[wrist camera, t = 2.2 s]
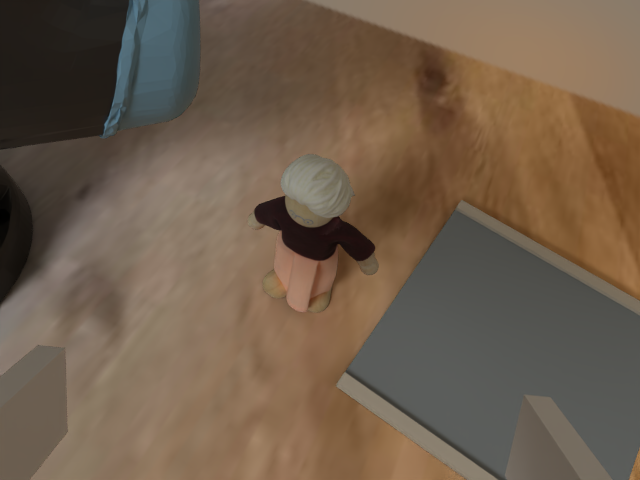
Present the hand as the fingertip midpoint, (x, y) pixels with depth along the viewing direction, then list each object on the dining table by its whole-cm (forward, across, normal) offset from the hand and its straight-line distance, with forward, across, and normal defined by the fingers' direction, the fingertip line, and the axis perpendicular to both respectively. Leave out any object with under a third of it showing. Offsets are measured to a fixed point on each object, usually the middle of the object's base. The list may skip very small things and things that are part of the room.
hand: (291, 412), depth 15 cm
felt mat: (+16, +13, -5) cm, 21 cm away
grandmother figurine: (+18, 0, -3) cm, 19 cm away
